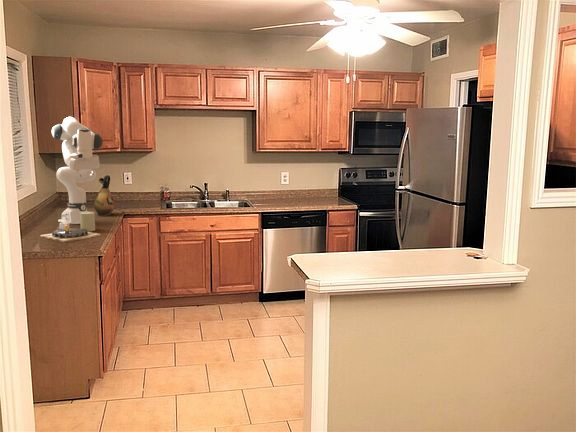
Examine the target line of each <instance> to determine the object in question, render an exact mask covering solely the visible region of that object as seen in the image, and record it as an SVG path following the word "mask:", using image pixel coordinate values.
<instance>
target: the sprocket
mask: <svg viewBox="0 0 576 432" xmlns="http://www.w3.org/2000/svg"><path fill="white" fill-rule="evenodd" d="M88 232H89V231H88V230H86V229H81V227H78V228H77V227H70V229H69V225H65V231H64V230H57V229H55V230H52V232H51V233H52V236H54V237H65V238H67V237H81V236H85V234H88Z"/></svg>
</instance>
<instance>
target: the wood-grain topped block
mask: <svg viewBox="0 0 576 432" xmlns="http://www.w3.org/2000/svg"><path fill="white" fill-rule="evenodd" d="M58 225H59V226H58V227H59V230H64V231H65V225H69V229H70V228H71V227H70V225H71V224H68V223H62V222H59V223H58Z"/></svg>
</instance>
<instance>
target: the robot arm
mask: <svg viewBox="0 0 576 432" xmlns="http://www.w3.org/2000/svg"><path fill="white" fill-rule="evenodd" d="M51 135H52V137H53V139H54V140H56V141H63V142H62V144H61V152H62V157H63V160H64V163H65V165H66V166H63V167H59V168H58V169H57V171H56V174H55V177H56V179H57V180H58V182H60V183H61V184H63V186H65V188H66V190H67V193H68V202H67V203H66V205H67V208H66V209H65V210H63V212H61V219H58V220H57V222H59V223H68V224H70V225H81V224H80V213H81V212H89V210H88V202H87V193H86V190H85V189H84V188H82V187H80V186H78V185H77V183H90V182H93V181H94V180H95V179H96V177H97V172H96V170H97V169H100V168H101V164H100V157H99V155H98V154H97V153H95V154H93V150H99V149H101V148H102V146H103V138H102V136H101V135H100V134H99V133H96V132H94V131H93V130H92V129H91V128H90V127H87V126H85V125H83V124H82V123H80V121H78V120H77V118H75V117H73V116H68V117H66V118H64V119H63V121H62V124H60V123H58V124H56V125H54V126H53V127H52V128H51Z"/></svg>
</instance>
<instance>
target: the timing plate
mask: <svg viewBox="0 0 576 432" xmlns="http://www.w3.org/2000/svg"><path fill="white" fill-rule="evenodd" d="M56 230H59V226H57V228H56ZM38 236H39V238H43V239H47V240H52V241H56V242H61V243H70V242H75V241H80V240H86V239H91V238H96V237H101V233H97V232H93V231H88V234H85V236H81V237H67V238H65V237H54V236H52V232H51V233H45V234H39V235H38Z"/></svg>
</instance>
